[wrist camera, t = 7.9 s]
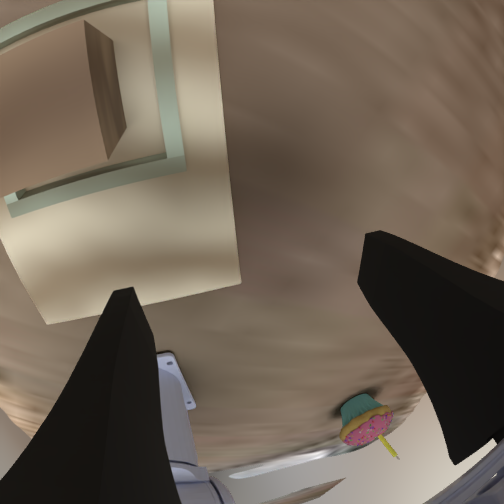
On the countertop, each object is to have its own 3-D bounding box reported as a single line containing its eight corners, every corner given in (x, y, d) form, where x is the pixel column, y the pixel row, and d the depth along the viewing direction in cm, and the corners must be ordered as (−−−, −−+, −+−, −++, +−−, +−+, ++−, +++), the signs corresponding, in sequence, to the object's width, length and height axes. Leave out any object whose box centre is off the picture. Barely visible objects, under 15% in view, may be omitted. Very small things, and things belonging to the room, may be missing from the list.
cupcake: (385, 379, 40) (425, 441, 30) (366, 407, 44) (397, 463, 35) (337, 396, 37) (376, 467, 28) (321, 423, 42) (352, 485, 32)
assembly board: (237, 274, 21) (246, 295, 19) (49, 314, 18) (44, 337, 16) (208, -17, 11) (215, -30, 9) (-36, 62, 8) (-57, 64, 6)
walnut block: (126, 127, 13) (107, 160, 8) (45, 153, 12) (-8, 201, 7) (113, 40, 10) (83, 19, 5) (27, 71, 9) (-38, 78, 5)
